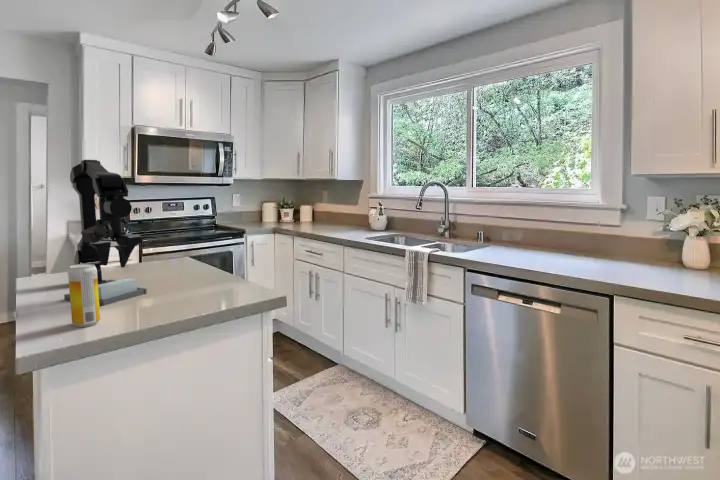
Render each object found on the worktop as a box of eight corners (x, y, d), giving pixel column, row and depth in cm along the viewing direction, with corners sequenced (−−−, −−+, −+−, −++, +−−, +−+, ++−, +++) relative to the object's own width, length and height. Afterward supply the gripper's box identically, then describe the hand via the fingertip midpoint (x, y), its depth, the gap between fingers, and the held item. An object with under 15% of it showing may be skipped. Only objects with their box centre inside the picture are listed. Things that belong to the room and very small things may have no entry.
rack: (62, 300, 131) (61, 288, 131) (109, 288, 146) (108, 278, 145) (101, 306, 125) (101, 294, 125) (146, 293, 140) (146, 282, 140)
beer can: (93, 318, 114) (89, 262, 112) (105, 323, 110) (101, 265, 109) (67, 324, 109) (63, 266, 107) (79, 329, 106) (74, 269, 104)
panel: (93, 302, 130) (91, 286, 129) (128, 293, 141) (127, 278, 140) (102, 303, 128) (100, 287, 128) (137, 294, 139) (136, 279, 139)
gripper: (63, 216, 127) (67, 268, 129) (109, 218, 120) (112, 273, 122) (97, 214, 137) (101, 262, 139) (142, 216, 131) (145, 266, 133)
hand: (113, 266), depth 133 cm, fingers open, 7 cm apart
